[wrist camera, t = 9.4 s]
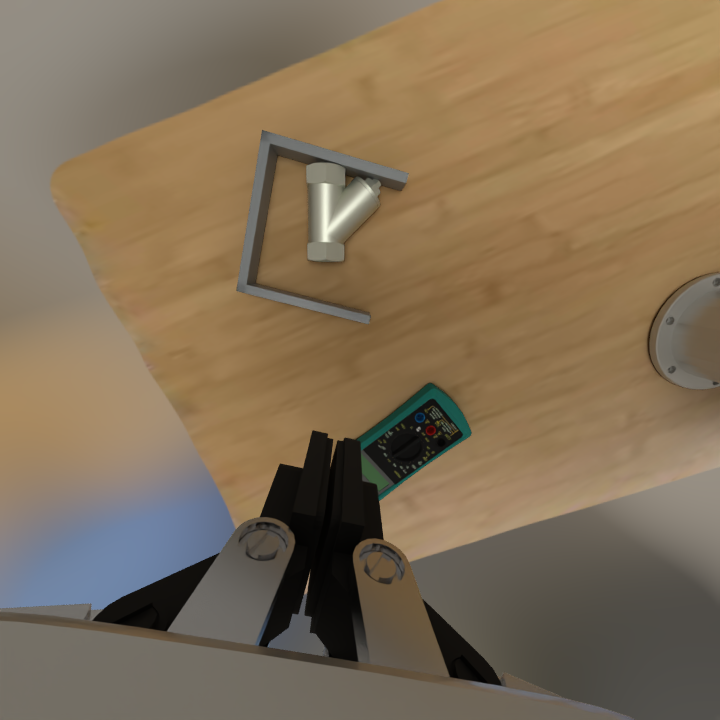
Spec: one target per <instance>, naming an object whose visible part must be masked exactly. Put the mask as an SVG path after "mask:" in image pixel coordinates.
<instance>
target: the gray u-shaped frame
mask: <svg viewBox="0 0 720 720" xmlns="http://www.w3.org/2000/svg"><path fill="white" fill-rule="evenodd" d="M278 155H279V156H282V157H285V158H289V159H292V160H296V161H299V162H303V163H306V164H312V163H320V162H324V163H334V164H338V165H341V166H343V167H344V168H345V175H347V176H351V177H354V178H355V177H357V176H358V177H360V178H362V179H363V180H366V179H367V178H370V179H372V180H373V179H378V180H379V181H380V183H381V185H382V186H385V187H389V188H392V189H396V190H399V191H402V189H403V187H404V186H405V184H406V182H407V178H408V174H409V173H406V172H402V171H399V170H396V169H392V168H389V167H385V166H382V165H379V164H375V163H372V162H369V161H365V160H362V159H358V158H355V157H352V156H348V155H345V154H341V153H338V152H335V151H331V150H328V149H325V148H321V147H318V146H314V145H311V144H308V143H304V142H301V141H297V140H294V139H291V138H287V137H284V136H281V135H277V134H274V133H270V132H267V131H264V130H262V134H261V141H260V147H259V153H258V159H257V166H256V172H255V178H254V184H253V190H252V197H251V203H250V209H249V215H248V222H247V228H246V234H245V240H244V247H243V253H242V259H241V265H240V272H239V278H238V284H237V290H236V291H239V292H243V293H247V294H251V295H255V296H259V297H263V298H267V299H270V300H274V301H278V302H282V303H286V304H290V305H294V306H298V307H302V308H306V309H310V310H314V311H318V312H322V313H326V314H330V315H334V316H338V317H342V318H346V319H350V320H354V321H358V322H362V323H365V324H369V321H370V317H371V316H370V313H369V312H365V311H361V310H357V309H354V308H350V307H346V306H342V305H338V304H334V303H330V302H326V301H322V300H318V299H314V298H311V297H307V296H303V295H299V294H295V293H291V292H287V291H283V290H279V289H275V288H271V287H268V286H264V285H260V284H256V277H257V271H258V266H259V260H260V254H261V248H262V243H263V237H264V231H265V225H266V219H267V214H268V208H269V202H270V196H271V191H272V185H273V179H274V173H275V168H276V162H277V156H278Z"/></svg>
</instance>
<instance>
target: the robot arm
mask: <svg viewBox="0 0 720 720" xmlns="http://www.w3.org/2000/svg"><path fill="white" fill-rule="evenodd" d="M649 347H650V355H651V359H652V363H653V364H654V366H655V368H656V370H657V371H658V372H659V373H660V374H661V376H662V377H663V378H665V379H666V380H668V381H669V382H671V383H674V384H676V385H679V386H681V387H685V388H689V389H697V390H704V389H712V388H716V387H719V386H720V272H718V273H711V274H708V275H704V276H701V277H698V278H697V279H695V280H693V281H691V282H689V283H687V284H686V285H684V286H683V287H681V288H680V289H679V290H677V291H676V292H675V293H674V294H673V295H672V296H671V297H670V298H669V299H668V300H667V302H666V303H665V304H664V306H663V307H662V308H661V310H660V311H659V313H658V315H657V317H656V319H655V321H654V324H653V327H652V330H651V334H650V341H649ZM327 437H328V434H327V433H322V432H318V431H312V435H311V439H310V443H309V447H308V451H307V455H306V459H305V463H304V467H303V468H299V467H294V466H289V465H285V464H280V465H279V467H278V470H277V473H276V475H275V478H274V481H273V483H272V486H271V489H270V491H269V494H268V497H267V499H266V502H265V505H264V507H263V510H262V513H261V515H260V517H258V518H254V519H250V520H248V521H246V522H244V523H242V524H241V525H240V526H239V527H238V528H237V529H236V530H235V531H234V533H233V534H232V536H231V537H230V539H229V540H228V542H227V543H226V545H225V546H224V547H223V549H222V551H221V552H220V553H218V554H216V555H214V556H212V557H209V558H207V559H205V560H203V561H200V562H198V563H196V564H194V565H192V566H190V567H187V568H185V569H183V570H181V571H178V572H176V573H174V574H172V575H170V576H168V577H165V578H163V579H161V580H159V581H156V582H154V583H152V584H150V585H148V586H146V587H143V588H141V589H139V590H137V591H135V592H132V593H130V594H128V595H126V596H123V597H121V598H120V599H118V600H116V601H115V602H113V603H111V604H109V605H108V606H107V607H106V608H104V609H102V610H91V604H75V605H57V606H39V607H20V608H2V609H0V720H635V719H633V718H631V717H628V716H625V715H622V714H619V713H616V712H613V711H610V710H607V709H604V708H601V707H598V706H594V705H589V704H585V703H581V702H577V701H573V700H569V699H566V698H563V697H561V696H559V695H556V694H554V693H551V692H549V691H547V690H544V689H542V688H540V687H537V686H535V685H533V684H530V683H528V682H526V681H523V680H521V679H519V678H516V677H514V676H512V675H509V674H507V673H505V672H504V673H503V675H502V677H498V676H497V675H496V673H495V672H494V670H493V668H492V667H491V666H490V665H489V664H488V663H487V661H486V660H485V659H484V658H483V657H482V656H481V655H480V654H479V653H478V652H477V651H476V650H475V649H474V648H473V647H472V646H471V645H470V644H469V643H468V642H466V641H465V640H464V639H463V638H462V637H461V636H460V635H459V634H458V633H457V632H456V631H455V630H454V629H453V628H452V627H451V626H450V625H449V624H448V623H447V622H446V621H445V620H444V619H443V618H442V617H441V616H440V615H439V614H438V613H437V612H436V611H435V610H434V609H433V608H432V607H431V606H429V605H428V604H427V603H426V602H425V601H424V600H423V599H422V597H421V594H420V592H419V589H418V586H417V583H416V580H415V577H414V575H413V572H412V569H411V566H410V564H409V562H408V560H407V558H406V556H405V555H404V554H403V553H402V551H401V550H400V549H398V548H397V547H396V546H394V545H393V544H391V543H389V542H387V541H385V540H384V539H383V531H382V522H381V513H380V505H379V496H378V488H377V484H375V483H370V482H365V481H362V462H361V442H360V441H359V440H354V439H350V438H344V441H339V440H338V441H337V444H336V448H335V452H334V456H333V460H332V463H331V454H332V446H333V439H330V438H327ZM330 463H331V467H330ZM310 569H311V570H310ZM309 573H310V578H309V585H308V592H307V599H306V606H305V616H310V617H312V619H311V628H310V633H315V634H316V635H317V636H318V637H319V639H320V640H321V641H322V643H323V644H324V650H323V656H318V655H312V654H306V653H299V652H293V651H287V650H280V649H275V648H269V645H270V641H271V640H273V639H274V638H275V637H277V636H278V635H279V634H281V633H282V632H283V631H284V630H286V629H287V628H288V627H289V624H290V621H291V617H292V613H293V614H298V613H299V610H300V606H301V602H302V599H303V595H304V592H305V588H306V584H307V581H308V577H309Z"/></svg>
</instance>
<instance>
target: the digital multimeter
mask: <svg viewBox="0 0 720 720" xmlns="http://www.w3.org/2000/svg"><path fill="white" fill-rule="evenodd" d="M425 402H426V403H425ZM421 405H422V406H421ZM409 414H410V415H409ZM405 417H406V418H405ZM401 420H402V421H401ZM397 423H398V424H397ZM393 426H394V427H393ZM389 429H390V430H389ZM385 432H386V433H385ZM471 433H472V432H471V430H470V428H469V425H468V423H467V421H466V419H465V417H464V415H463V414H462V412H461V411H460V409H459V408H458V407H457V405H456V404H455V403H454V402H453V400H452V399H451V398H450V397H449V396H448V395H447V394H445V393H444V392H443V391H442V390H440V389H439V388H438V387H436V386H435V385H434V384H432V383H429V384H427V385H426V386H425V387H424V388H422V389H421V390H420V391H419V392H418V393H416V394H415V395H414V396H413V397H412V398H410V399H409V400H408V401H407V402H406V403H404V404H403V405H402V406H401V407H399V408H398V409H397V410H396V411H394V412H393V413H392V414H391V415H389V416H388V417H387V418H386V419H384V420H383V421H382V422H380V423H379V424H377V425H376V426H375V427H373V428H372V429H371V430H369V431H368V432H367V433H365V434H364V435H362V436H361V437H359V438H358V439H357V440H359V441H360V442H361V462H362V481H365V482H370V483H375V484H377V488H378V496H379V501H380V500H381V499H383V498H384V497H385V496H386V495H388V494H389V493H390V492H391V491H393V490H394V489H395V488H397V487H398V486H399V485H400V484H402V483H403V482H404V481H405V480H407V479H408V478H410V477H411V476H412V475H414V474H415V473H416V472H418V471H419V470H420V469H422V468H423V467H424V466H426V465H427V464H429V463H430V462H432V461H433V460H435V459H436V458H438V457H439V456H441V455H442V454H444V453H445V452H447V451H448V450H450V449H451V448H453V447H454V446H456V445H457V444H459V443H461V442H462V441H464V440H465V439H467V438H468V437H470V436H471ZM381 435H382V436H381ZM377 438H378V439H377ZM373 441H374V442H373ZM369 444H370V445H369ZM365 447H366V448H365ZM392 457H393V458H392Z"/></svg>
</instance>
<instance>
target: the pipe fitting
mask: <svg viewBox="0 0 720 720" xmlns="http://www.w3.org/2000/svg"><path fill="white" fill-rule="evenodd" d="M306 175H307V188H308V244H307V249H308V261H319V262H344V244H343V243H344V242H345V241H346V240H347V239H348V238H349V237H350V236H351V235H352V234H353V233H354V232H355V231H356V230H357V229H358V228H359V227H360V226H361V225H362V224H363V223H364V222H365V221H366V220H367V219H368V218H369V217H370V216H371V215H372V214H373V213H374V212H375V211H376V210H377V209H378V208H379V207H380V201H379V199H378V197H377V196H378V195H379V194H380V190H379V187H380V186H381V183H380V181H379V180H378V179H373V180H372V179H370V178H367V179H366V180H365V181H364V180H363V179H362V178H360V177H358V176H357V177H355V178H354V179H353V180H352V181H351V183H350V184H349V185H348V186H347V187H346V188H345V168H344V167H343V166H341V165H338V164H334V163H324V162H320V163H312V164H309V165H307V166H306Z"/></svg>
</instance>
